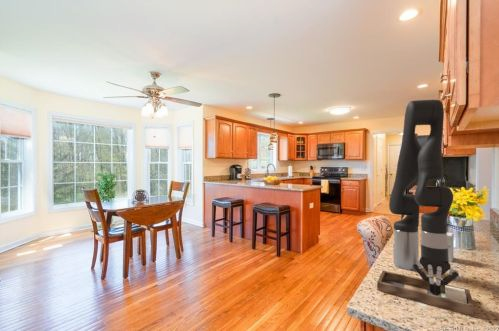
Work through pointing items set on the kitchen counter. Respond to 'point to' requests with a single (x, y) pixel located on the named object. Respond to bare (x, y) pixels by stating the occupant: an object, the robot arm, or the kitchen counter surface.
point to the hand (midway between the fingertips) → (435, 294)
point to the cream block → (455, 294)
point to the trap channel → (422, 292)
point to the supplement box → (450, 246)
